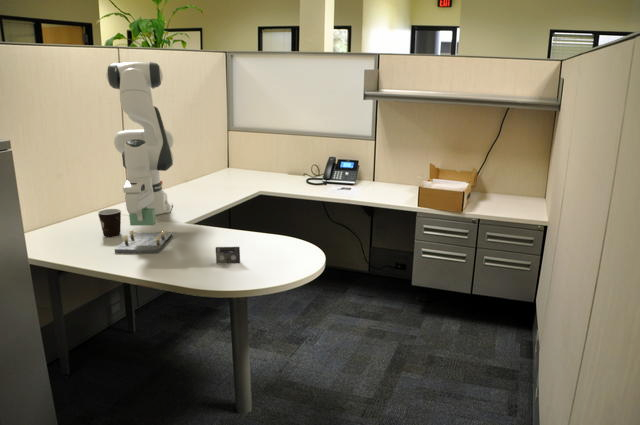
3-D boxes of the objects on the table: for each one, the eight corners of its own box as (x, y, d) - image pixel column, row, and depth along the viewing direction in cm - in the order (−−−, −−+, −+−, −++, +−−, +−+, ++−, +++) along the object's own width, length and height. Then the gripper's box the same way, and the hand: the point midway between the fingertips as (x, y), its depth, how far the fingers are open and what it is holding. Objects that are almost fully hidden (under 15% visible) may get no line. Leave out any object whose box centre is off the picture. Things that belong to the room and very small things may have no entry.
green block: (133, 223, 206) (131, 208, 205) (156, 223, 206) (154, 208, 204) (130, 225, 203) (128, 210, 202) (153, 225, 203) (152, 210, 202)
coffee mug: (101, 233, 221) (98, 209, 218) (123, 230, 224) (120, 208, 221) (100, 241, 210) (97, 217, 208) (123, 239, 213) (121, 215, 210)
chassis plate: (134, 236, 217) (132, 225, 216) (173, 236, 217) (172, 225, 215) (114, 253, 198) (113, 241, 196) (157, 253, 197) (156, 241, 196)
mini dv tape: (240, 262, 189) (239, 246, 187) (239, 263, 188) (239, 247, 186) (217, 262, 189) (216, 246, 187) (216, 263, 187) (215, 247, 186)
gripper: (140, 177, 210) (143, 211, 214) (121, 189, 191) (124, 226, 194) (156, 177, 210) (159, 211, 214) (138, 189, 191) (142, 226, 194)
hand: (142, 218), depth 204 cm, fingers closed on green block, 3 cm apart
